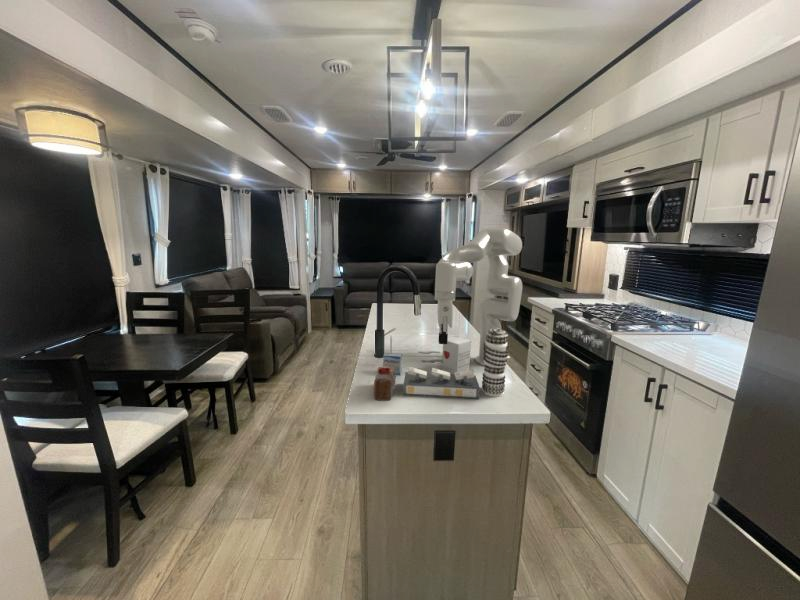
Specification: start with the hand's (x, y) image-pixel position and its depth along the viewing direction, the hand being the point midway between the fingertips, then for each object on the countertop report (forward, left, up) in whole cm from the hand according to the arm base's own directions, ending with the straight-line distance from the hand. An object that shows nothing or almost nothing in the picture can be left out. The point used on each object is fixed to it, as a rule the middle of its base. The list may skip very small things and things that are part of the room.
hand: (442, 343), depth 121 cm
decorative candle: (-20, -2, -20) cm, 28 cm away
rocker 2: (0, 0, -12) cm, 12 cm away
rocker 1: (+9, 0, -12) cm, 16 cm away
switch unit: (0, 0, -20) cm, 20 cm away
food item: (+22, +3, -20) cm, 30 cm away
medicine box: (+21, -15, -20) cm, 33 cm away
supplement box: (-7, -20, -20) cm, 29 cm away
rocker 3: (-9, 0, -12) cm, 15 cm away
